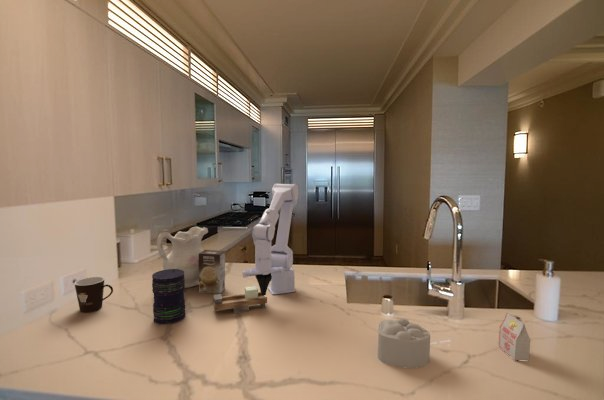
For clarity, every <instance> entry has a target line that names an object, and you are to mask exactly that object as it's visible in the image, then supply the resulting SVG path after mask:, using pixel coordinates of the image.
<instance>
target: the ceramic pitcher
mask: <svg viewBox="0 0 604 400" xmlns="http://www.w3.org/2000/svg"><path fill="white" fill-rule="evenodd" d="M208 229H209V228H207V227H200V226H193V227H190V228H189V230H188V231H178V232H176V234H175V235H174V236H173V235H172V234H171V233H170V229H162V230H160V233H159V235H158V236H157V238H156V248H157V251H158V253H159V257H160V258H162V267H163V268H162V270H167V269H180V270H183V271H184V279H185V289H190V288H192V287H195V286H199V253H200V252H202V251H203V250H204V249H203V248H202V247H201V244H202V239H203V237H204V235H206V234H208V233H209V230H208ZM165 239H167V240H169V241H170V242H171V246H172V248H171V249H172V250H171V251H170V252H169V253H168V254H167V255H166V252H165V250H164V248H163V241H164V240H165Z"/></svg>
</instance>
